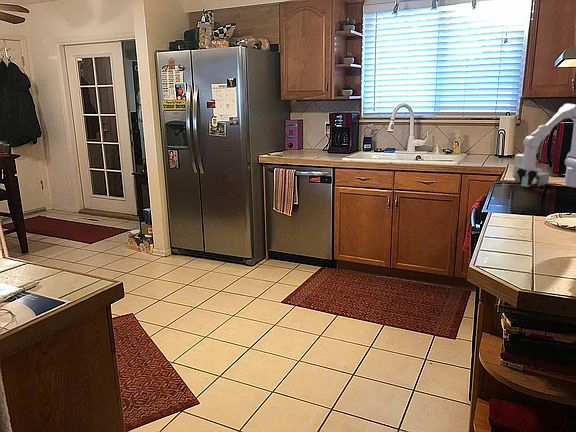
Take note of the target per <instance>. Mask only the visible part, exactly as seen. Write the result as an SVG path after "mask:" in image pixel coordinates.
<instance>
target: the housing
mask: <svg viewBox="0 0 576 432" xmlns="http://www.w3.org/2000/svg"><path fill="white" fill-rule="evenodd" d="M525 176H526V177H528V172H526V174H525ZM535 177H539V179H538V184H533V185H532V186H536V187H542V186H545V184H546V185H548V184H549V181H550V172H543V171H542V173H538V174H537V175H536V176H535ZM514 182H516V183H520V178H519V175H518V172H517V171H516V175H515V177H514ZM541 185H542V186H541Z"/></svg>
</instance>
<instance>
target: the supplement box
mask: <svg viewBox="0 0 576 432" xmlns="http://www.w3.org/2000/svg"><path fill="white" fill-rule="evenodd" d="M523 157H524V153H517V154H516V155H514V162H513V169H512V177H514V178H515V175H516V171H517V170H519V169H514V165H522V164H523Z"/></svg>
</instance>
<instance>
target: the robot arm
mask: <svg viewBox="0 0 576 432" xmlns="http://www.w3.org/2000/svg"><path fill="white" fill-rule="evenodd" d="M565 119H571V121H573V128H572V129H573V130H572V138H571V146H570V151H568V153H567V154H566V158H565V159H564V165H565V166H566V167H565V168H566V170H565V176H564V182H563V183H561V184H560V186H564V187H565V186H566V187H570V188H576V104H575V103H570V102H569V103H568V102H567V103H564V104H563V105H562V106H561V107H560V108H559V109H558V111H557V112H556V113H555V114H554V115H553V116H552V118H550V120H549V121H547V122H546V124H541V125H539V126H537V129H535V130H534V131H533V132H532V133H531V134H530V135H528V136H527V135H526V137H525V138H524V140H523V141H522V144H523V145H524V151H523V154H524V157H523V164H522V165H514V164H513V167H514V169H519V170H517V172H518V175H519V178H520V182H519V183H520V184H521V183H522V177H524V176H525V174H526V171H531V172H528V185H530V186H532V185H531V184H532V181H533V179H534V178H535V176H536V175H537V174H538V173H542V172H543V169H542V168H539V167H535V163H536V156H537V151H538V150H537V149H538V147H539V146H540V145H541V142H542V141H543V140H544V139H545V138H546V137H547V136H548V135H549V134H550V133H551V130H552V129H553V128H554V127H555V126H557V125H558V124H559V123H560V122H561V121H563V120H565Z"/></svg>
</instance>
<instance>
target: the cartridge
mask: <svg viewBox="0 0 576 432" xmlns="http://www.w3.org/2000/svg"><path fill="white" fill-rule="evenodd" d="M538 179H539V177H535V178H534V179H533V181H532V184H531V185H528V177H526V176H524V177H522V183H520V184H521V187H525V188H529V187H531V186H534V185H533V184H537V183H538Z"/></svg>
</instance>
